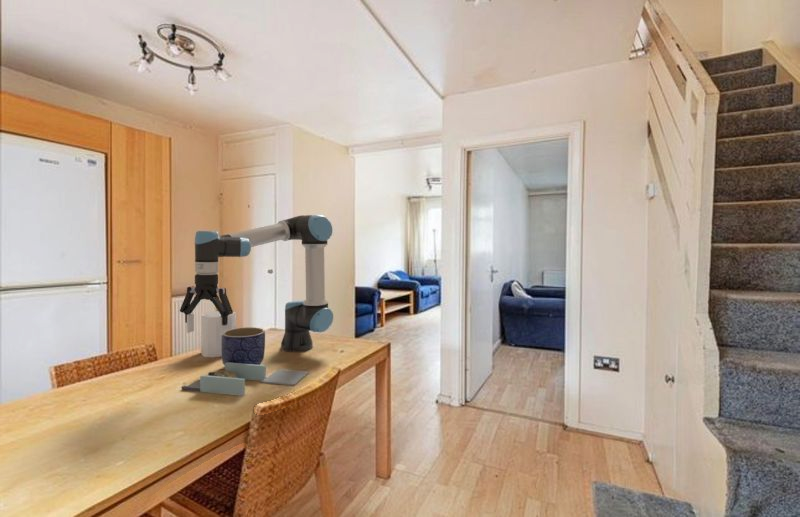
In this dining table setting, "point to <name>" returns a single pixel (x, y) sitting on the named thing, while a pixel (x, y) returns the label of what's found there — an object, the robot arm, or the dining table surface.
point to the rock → (225, 374)
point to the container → (213, 333)
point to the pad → (285, 377)
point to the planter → (243, 345)
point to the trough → (229, 379)
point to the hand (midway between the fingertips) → (206, 332)
